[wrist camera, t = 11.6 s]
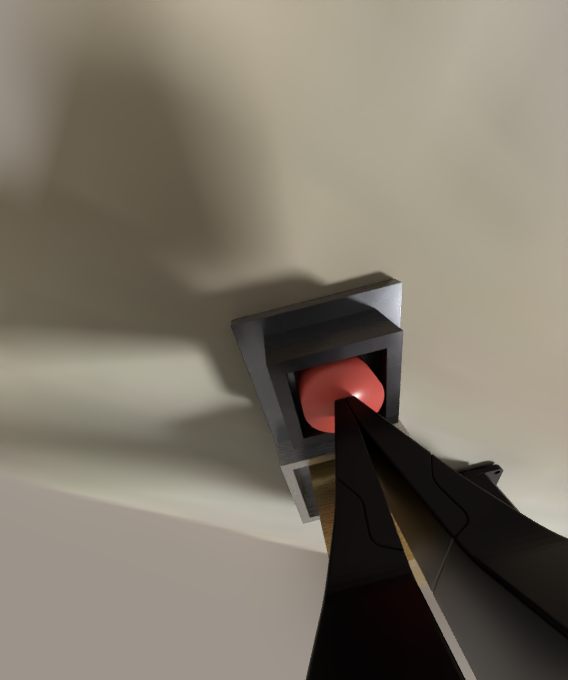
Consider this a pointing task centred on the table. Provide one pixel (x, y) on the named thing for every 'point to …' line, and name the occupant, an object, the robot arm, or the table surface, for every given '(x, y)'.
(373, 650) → the robot arm
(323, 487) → the billet
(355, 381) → the red rounded part
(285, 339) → the ball holder tray
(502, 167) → the table surface
